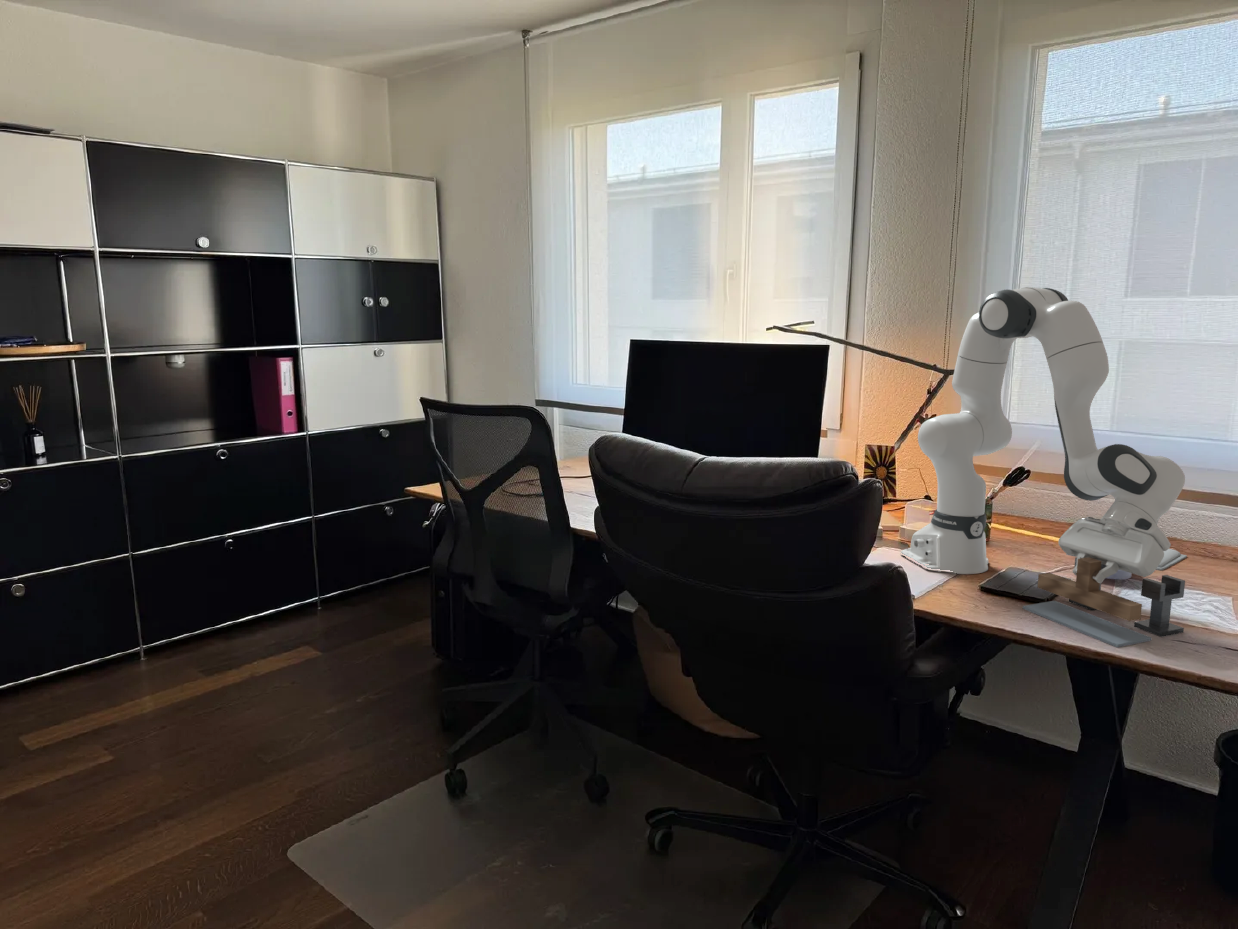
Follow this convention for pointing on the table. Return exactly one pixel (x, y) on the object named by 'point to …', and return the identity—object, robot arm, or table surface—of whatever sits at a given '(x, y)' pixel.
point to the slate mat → (1087, 624)
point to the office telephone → (1166, 559)
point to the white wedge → (1120, 575)
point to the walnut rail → (1090, 591)
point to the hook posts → (1156, 604)
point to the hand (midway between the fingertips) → (1085, 577)
